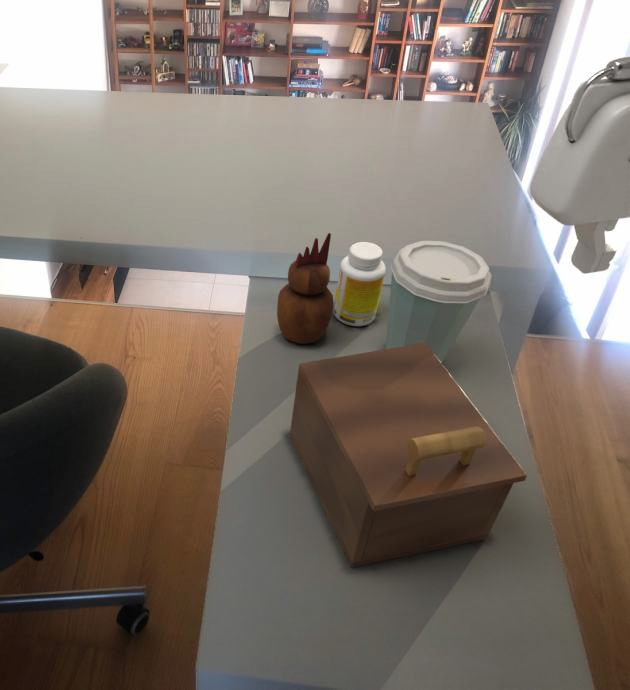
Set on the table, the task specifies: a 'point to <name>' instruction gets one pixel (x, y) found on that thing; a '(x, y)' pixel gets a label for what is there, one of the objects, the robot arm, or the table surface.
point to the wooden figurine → (306, 296)
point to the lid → (407, 427)
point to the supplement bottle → (359, 284)
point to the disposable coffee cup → (433, 294)
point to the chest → (388, 524)
